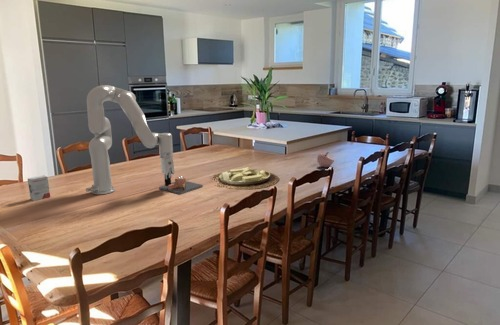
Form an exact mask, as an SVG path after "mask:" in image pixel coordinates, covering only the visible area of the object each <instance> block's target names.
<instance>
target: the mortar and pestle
mask: <svg viewBox="0 0 500 325" xmlns="http://www.w3.org/2000/svg"><path fill="white" fill-rule="evenodd" d="M328 154H329V151H327V152H326V153H325V154H324V153H322V152H319V153H318V154H317V158H316V162H317V164H318V165H319V166H320V167H322V168H328V167H331V166H333V164H334V162H335V159H334V158H332V157H330V156H328Z"/></svg>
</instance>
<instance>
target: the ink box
mask: <svg viewBox="0 0 500 325" xmlns="http://www.w3.org/2000/svg"><path fill="white" fill-rule="evenodd" d="M27 184H28V185H27V186H28V190H29V197H30V200H31V201H33V202H34V201H35V202H36V201H39V200H43V199H47V198H51V190H50V186H49V185H50V184H49V178H48V176H46V175H44V174H43V175H39V176H33V177H28V178H27Z"/></svg>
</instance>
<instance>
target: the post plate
mask: <svg viewBox="0 0 500 325" xmlns="http://www.w3.org/2000/svg"><path fill="white" fill-rule="evenodd" d="M177 177H178V179H182V178H183V176H182V175H179V176H177ZM174 183H175V181H174V182H171V184H174ZM203 187H204V186H203V184H201V183H197V182H192V181H188V180H186V186H185V184H183V187H177V188H174V189H171V190H169V189H168V186H165V184H163V185H160V186H159V187H158V189H159V190H162V191H167V192H170V193H174V194H177V195H184V194H186V193H189V192H192V191H194V190H198V189H201V188H203Z"/></svg>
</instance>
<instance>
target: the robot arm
mask: <svg viewBox="0 0 500 325" xmlns="http://www.w3.org/2000/svg"><path fill="white" fill-rule="evenodd" d="M105 102H113V103H116V104H118V105H119V107H120V108H121V109H122V111H123V113H124V115H126V117H127V119H128V120H129V122H130V123H131V126H132V128H133V130H134V132H135V134H136V135H137V137H138V138H139V140H140V142H141V143H142V144H143V146H144V147H145V148H148V149H153V148H155V147H156V146H158V150H159V158H160V170H161V173H162V174H163V175H164V176H163V177H164V185H165V186H168V185H171V183H172V177H173V176H172V175H175V164H174V148H173V146H174V145H173V135H172V133H171V132H162V133H160V132H152V131H151V129H150V127H149V125H148V124H147V120H146V115H145V113H144V112H143V110H142V108H141V107H140V105H139V104H138V102H137V97H136V94H134V93H133V92H132V91H130V90H126V89H123V88H119V87H116V86H113V85H109V84H106V85H105V84H102V85H97V86H95V87H93V88H92V89H91V90H90V91H88V93H87V96H86V110H87V120H88V121H87V122H88V124H87V125H88V129H89V130H88V131H89V132H90V133H91V134H93V135H94V137H93V138H92V139H91V140H90V141H89V143H88V152H89V155H90V156H89V157H90V162H91V171H92V172H91V173H92V181H93V184H91V186H90V187H86V188H85V191H86V192H91V194H93V195H107V194H111V193H114V192H115V191H116V188H115V187H114V186H113V185H112V184H113V182H112V173H111V172H112V171H111V163H110V156H109V155H110V154H109V150H110V149H111V147H112V146H113V137H112V136H113V135H112V125H111V122H110V119H109V118H107V117H106V115H105V108H104V103H105Z"/></svg>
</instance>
